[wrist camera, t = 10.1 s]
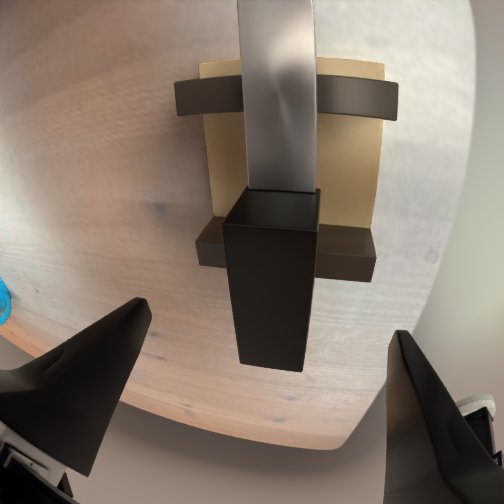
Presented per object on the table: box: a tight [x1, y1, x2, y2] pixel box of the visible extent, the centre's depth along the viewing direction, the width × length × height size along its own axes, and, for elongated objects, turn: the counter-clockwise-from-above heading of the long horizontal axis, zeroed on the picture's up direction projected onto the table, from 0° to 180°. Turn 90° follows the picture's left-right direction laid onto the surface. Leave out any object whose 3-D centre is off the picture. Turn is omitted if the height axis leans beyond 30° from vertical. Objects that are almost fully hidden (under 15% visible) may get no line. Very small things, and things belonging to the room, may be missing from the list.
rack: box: [174, 57, 398, 283], centre depth 12 cm, size 10×8×4 cm
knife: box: [221, 0, 321, 372], centre depth 9 cm, size 14×3×3 cm, turn 3°
